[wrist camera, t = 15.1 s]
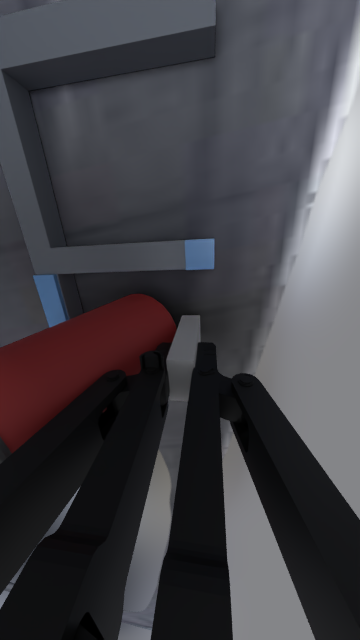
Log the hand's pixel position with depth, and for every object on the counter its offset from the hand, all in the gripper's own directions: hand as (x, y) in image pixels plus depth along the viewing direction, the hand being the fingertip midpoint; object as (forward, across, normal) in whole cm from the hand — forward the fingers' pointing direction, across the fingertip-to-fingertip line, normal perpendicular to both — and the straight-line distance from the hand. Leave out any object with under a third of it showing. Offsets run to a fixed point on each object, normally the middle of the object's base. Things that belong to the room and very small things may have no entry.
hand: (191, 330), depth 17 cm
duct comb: (+2, -5, +6) cm, 8 cm away
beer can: (+1, -4, 0) cm, 4 cm away
